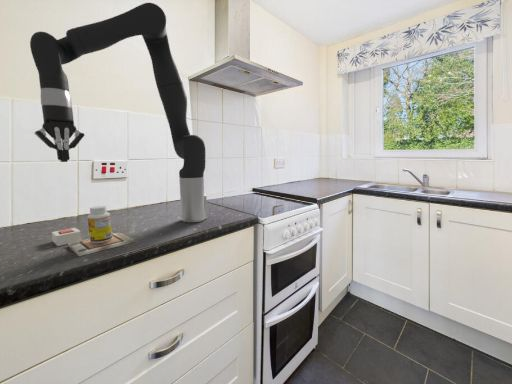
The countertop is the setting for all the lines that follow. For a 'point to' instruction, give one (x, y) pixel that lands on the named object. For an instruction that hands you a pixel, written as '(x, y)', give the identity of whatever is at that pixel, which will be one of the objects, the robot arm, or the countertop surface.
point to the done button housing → (66, 237)
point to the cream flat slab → (99, 244)
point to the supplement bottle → (99, 225)
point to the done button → (65, 231)
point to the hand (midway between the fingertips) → (64, 161)
